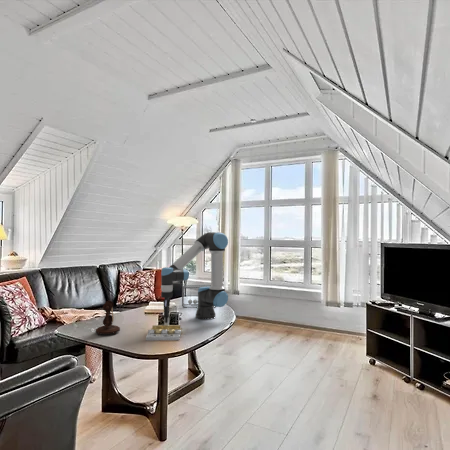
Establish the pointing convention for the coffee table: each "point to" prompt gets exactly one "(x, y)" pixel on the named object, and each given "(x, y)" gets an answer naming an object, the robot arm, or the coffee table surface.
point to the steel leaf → (163, 335)
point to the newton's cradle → (190, 294)
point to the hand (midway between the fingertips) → (166, 327)
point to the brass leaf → (166, 328)
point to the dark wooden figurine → (108, 321)
